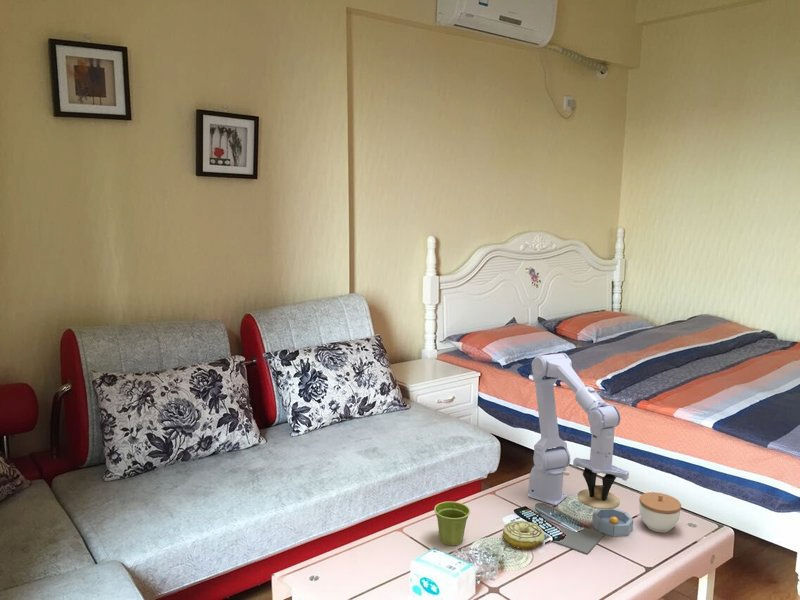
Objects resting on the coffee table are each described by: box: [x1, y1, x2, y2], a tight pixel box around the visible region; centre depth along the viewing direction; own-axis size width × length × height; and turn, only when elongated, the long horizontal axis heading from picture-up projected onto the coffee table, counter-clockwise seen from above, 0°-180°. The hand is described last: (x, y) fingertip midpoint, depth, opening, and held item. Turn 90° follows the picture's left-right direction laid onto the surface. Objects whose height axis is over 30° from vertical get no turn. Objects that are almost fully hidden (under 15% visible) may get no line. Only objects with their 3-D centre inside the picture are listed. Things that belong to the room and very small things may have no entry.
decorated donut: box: [502, 520, 546, 550], centre depth 173 cm, size 10×11×4 cm
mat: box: [553, 524, 605, 555], centre depth 175 cm, size 12×12×1 cm
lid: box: [577, 484, 621, 510], centre depth 176 cm, size 11×11×4 cm
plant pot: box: [433, 501, 471, 546], centre depth 172 cm, size 9×9×9 cm
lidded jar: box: [638, 491, 682, 534], centre depth 180 cm, size 11×11×9 cm
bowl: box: [591, 508, 634, 537], centre depth 180 cm, size 10×10×3 cm
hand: (598, 497), depth 177 cm, fingers closed on lid, 3 cm apart
